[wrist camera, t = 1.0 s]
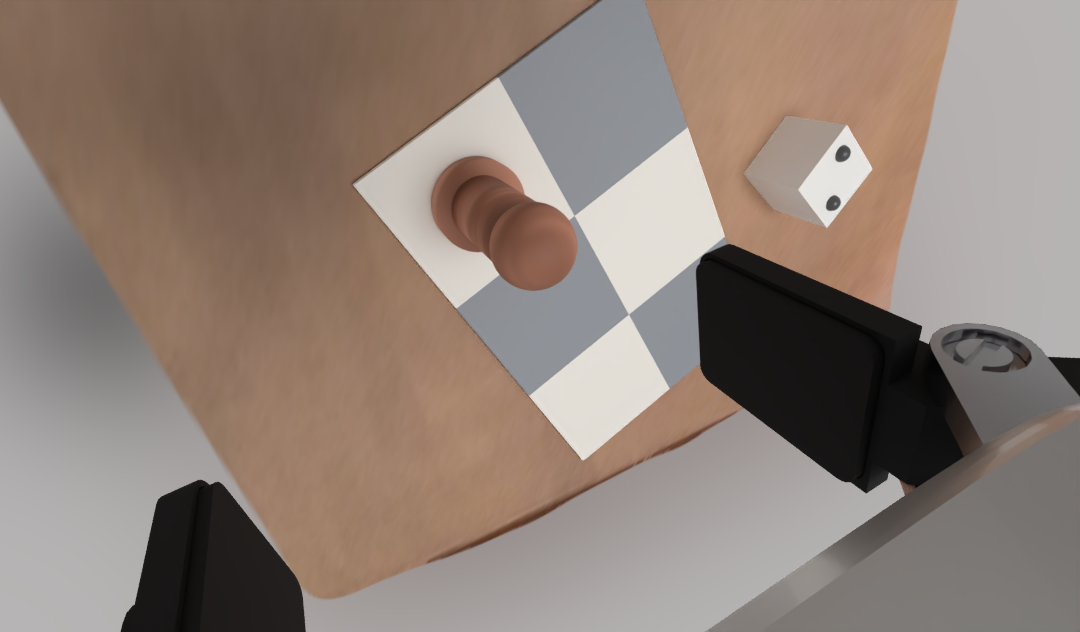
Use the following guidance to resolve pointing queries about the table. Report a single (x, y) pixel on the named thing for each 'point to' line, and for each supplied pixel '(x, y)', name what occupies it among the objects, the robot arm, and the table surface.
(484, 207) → the pawn
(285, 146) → the table surface
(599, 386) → the board
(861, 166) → the die
